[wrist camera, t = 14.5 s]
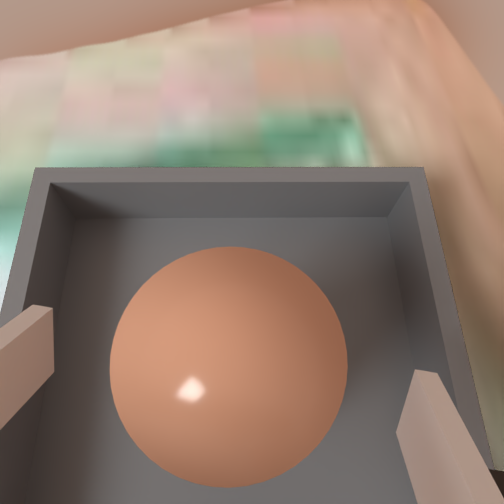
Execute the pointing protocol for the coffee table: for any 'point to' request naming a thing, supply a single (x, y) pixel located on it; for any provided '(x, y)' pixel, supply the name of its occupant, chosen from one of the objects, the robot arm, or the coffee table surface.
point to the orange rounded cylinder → (228, 367)
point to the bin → (230, 235)
